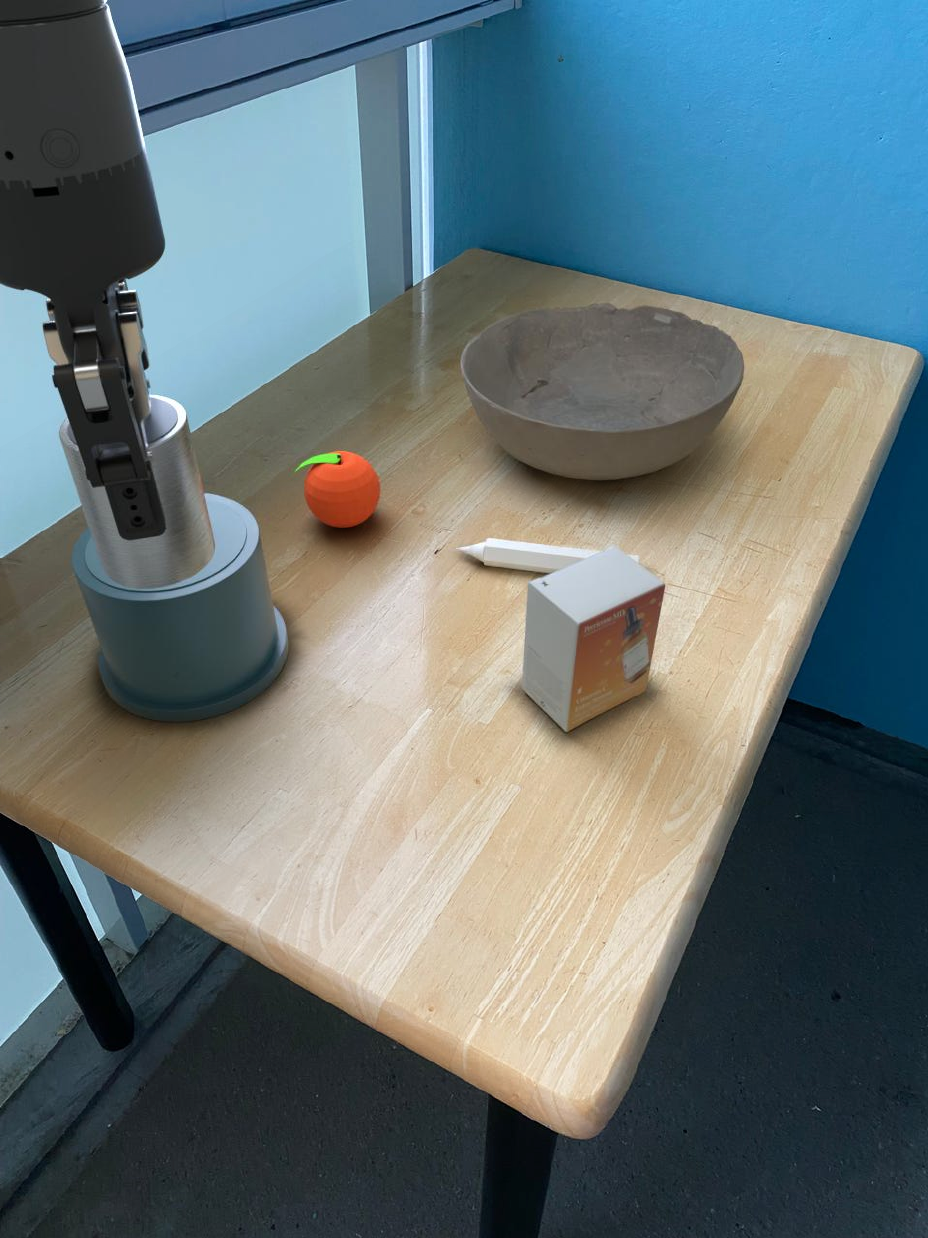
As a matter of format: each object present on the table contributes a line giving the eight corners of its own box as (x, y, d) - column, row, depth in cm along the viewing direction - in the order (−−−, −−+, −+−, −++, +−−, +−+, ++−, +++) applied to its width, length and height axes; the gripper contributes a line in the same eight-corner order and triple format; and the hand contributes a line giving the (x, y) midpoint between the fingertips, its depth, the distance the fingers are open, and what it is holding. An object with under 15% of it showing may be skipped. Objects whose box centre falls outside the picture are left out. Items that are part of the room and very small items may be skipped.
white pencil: (455, 562, 84) (635, 582, 81) (451, 565, 81) (635, 585, 79) (458, 533, 83) (639, 552, 80) (453, 535, 81) (639, 555, 78)
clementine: (291, 542, 85) (281, 476, 80) (302, 500, 90) (293, 434, 85) (379, 543, 85) (374, 476, 80) (385, 500, 90) (380, 434, 85)
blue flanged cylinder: (100, 739, 67) (55, 623, 60) (103, 613, 77) (65, 501, 70) (300, 700, 70) (280, 585, 62) (277, 583, 80) (257, 473, 73)
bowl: (755, 412, 102) (774, 325, 96) (679, 547, 84) (697, 450, 77) (527, 362, 112) (530, 279, 105) (413, 472, 93) (409, 381, 87)
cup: (100, 598, 48) (54, 462, 42) (102, 531, 52) (61, 401, 47) (219, 578, 49) (189, 443, 44) (211, 515, 53) (183, 385, 48)
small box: (565, 735, 67) (576, 626, 60) (519, 689, 70) (524, 580, 64) (649, 691, 70) (668, 582, 63) (601, 649, 74) (615, 541, 67)
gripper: (-34, 108, 41) (72, 439, 53) (-86, 209, 31) (60, 596, 42) (140, 96, 43) (208, 421, 54) (146, 189, 33) (228, 568, 44)
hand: (143, 496), depth 48 cm, fingers closed on cup, 6 cm apart
